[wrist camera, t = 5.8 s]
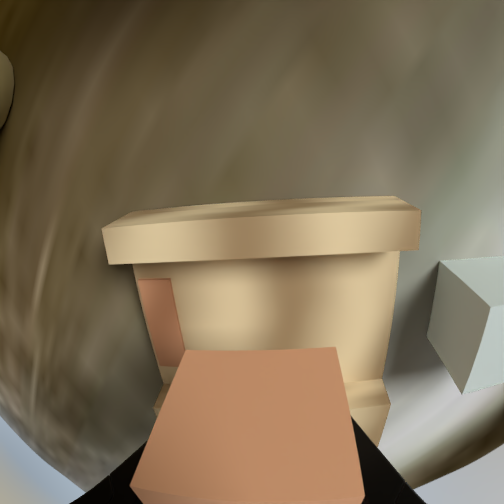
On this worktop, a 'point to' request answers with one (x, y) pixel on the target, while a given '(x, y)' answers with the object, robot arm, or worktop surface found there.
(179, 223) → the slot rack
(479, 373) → the blue-grey block
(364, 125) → the worktop surface
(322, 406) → the terracotta block
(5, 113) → the squeeze bottle
